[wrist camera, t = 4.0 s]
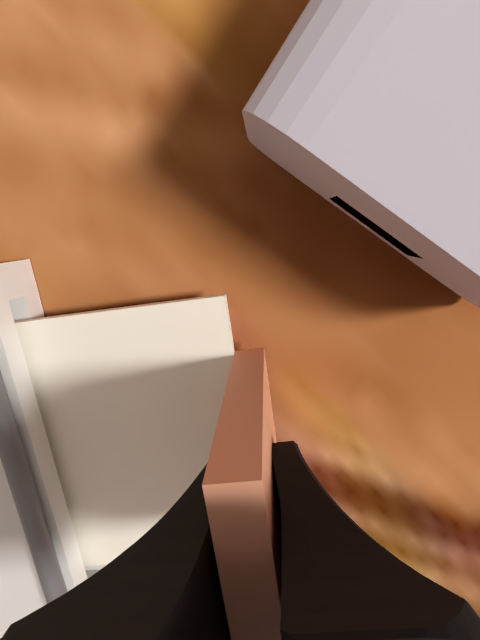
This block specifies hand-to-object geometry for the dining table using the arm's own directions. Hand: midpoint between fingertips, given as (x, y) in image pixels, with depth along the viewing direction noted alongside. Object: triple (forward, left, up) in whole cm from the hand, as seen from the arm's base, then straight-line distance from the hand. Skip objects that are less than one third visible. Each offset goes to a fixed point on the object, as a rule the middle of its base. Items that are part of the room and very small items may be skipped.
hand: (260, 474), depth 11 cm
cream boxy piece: (0, +6, -3) cm, 6 cm away
